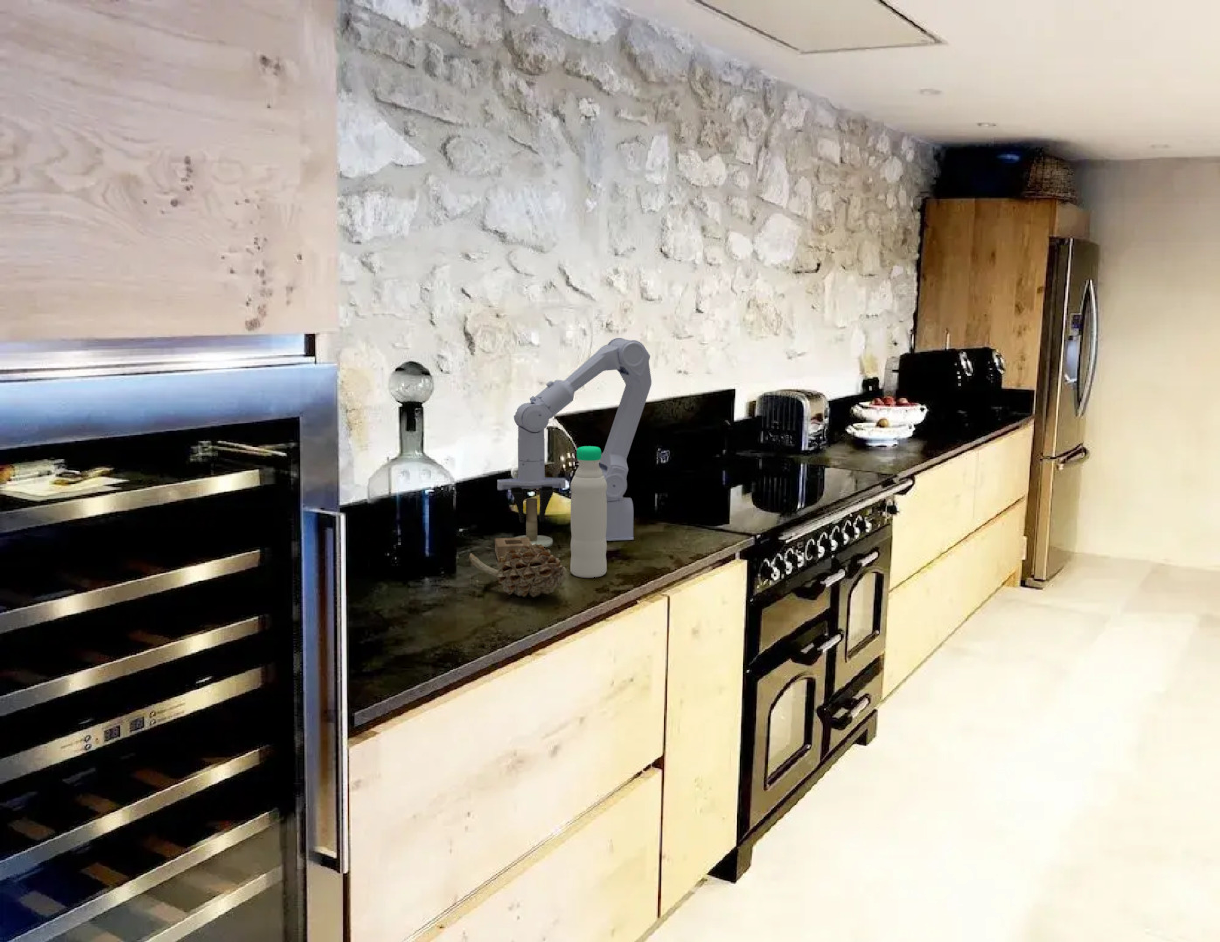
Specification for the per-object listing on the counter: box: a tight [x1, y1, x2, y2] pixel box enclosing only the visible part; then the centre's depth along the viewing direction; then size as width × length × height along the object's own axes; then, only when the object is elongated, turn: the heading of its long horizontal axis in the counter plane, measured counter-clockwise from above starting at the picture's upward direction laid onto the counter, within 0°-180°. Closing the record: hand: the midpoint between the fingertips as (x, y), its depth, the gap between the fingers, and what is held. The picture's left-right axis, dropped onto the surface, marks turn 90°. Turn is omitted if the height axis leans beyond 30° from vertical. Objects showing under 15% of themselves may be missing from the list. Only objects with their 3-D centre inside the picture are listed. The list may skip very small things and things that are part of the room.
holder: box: [494, 537, 532, 562], centre depth 225 cm, size 7×7×3 cm
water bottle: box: [570, 445, 608, 579], centre depth 210 cm, size 7×7×25 cm
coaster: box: [513, 534, 554, 548], centre depth 236 cm, size 9×9×1 cm
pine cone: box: [468, 544, 567, 598], centre depth 198 cm, size 22×10×10 cm, turn 61°
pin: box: [525, 497, 538, 541], centre depth 235 cm, size 2×2×9 cm
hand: (531, 521), depth 235 cm, fingers open, 4 cm apart
